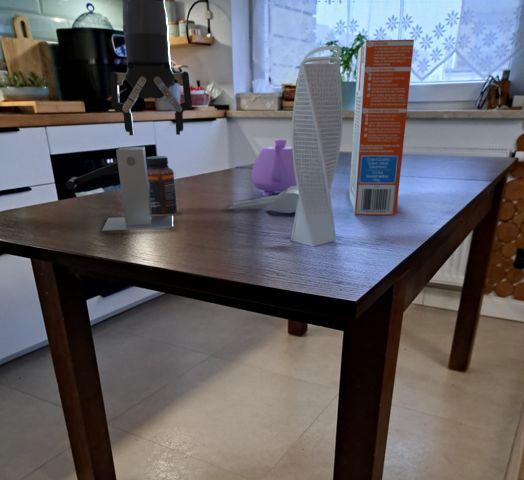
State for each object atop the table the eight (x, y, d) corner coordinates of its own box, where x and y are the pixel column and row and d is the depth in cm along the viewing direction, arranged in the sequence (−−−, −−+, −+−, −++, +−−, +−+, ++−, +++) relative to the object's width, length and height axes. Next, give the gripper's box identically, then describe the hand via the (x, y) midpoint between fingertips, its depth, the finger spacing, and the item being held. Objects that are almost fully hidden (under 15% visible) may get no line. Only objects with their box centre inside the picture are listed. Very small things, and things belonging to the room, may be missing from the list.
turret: (236, 216, 113) (231, 194, 111) (327, 203, 109) (324, 180, 107) (226, 226, 104) (221, 202, 102) (325, 213, 100) (322, 188, 98)
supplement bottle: (181, 214, 105) (177, 155, 100) (172, 220, 100) (166, 158, 95) (154, 213, 106) (148, 155, 101) (143, 219, 101) (136, 158, 96)
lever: (69, 193, 87) (62, 180, 86) (74, 189, 91) (67, 175, 90) (141, 165, 87) (135, 150, 86) (143, 161, 91) (137, 148, 90)
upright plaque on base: (102, 237, 89) (90, 152, 82) (109, 224, 97) (98, 146, 91) (173, 234, 90) (166, 150, 84) (173, 221, 99) (166, 144, 93)
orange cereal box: (396, 215, 102) (414, 39, 89) (354, 215, 103) (366, 40, 90) (383, 195, 123) (396, 49, 109) (349, 195, 123) (358, 50, 110)
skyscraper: (313, 232, 90) (319, 47, 78) (347, 240, 85) (359, 44, 73) (281, 240, 85) (282, 45, 73) (314, 249, 80) (322, 41, 68)
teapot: (308, 201, 117) (309, 143, 112) (246, 200, 118) (244, 143, 113) (309, 186, 135) (311, 136, 129) (255, 186, 136) (255, 136, 131)
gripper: (187, 36, 93) (192, 133, 101) (106, 35, 92) (117, 134, 99) (188, 31, 87) (194, 135, 94) (101, 30, 85) (113, 136, 92)
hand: (154, 134), depth 96 cm, fingers open, 8 cm apart
